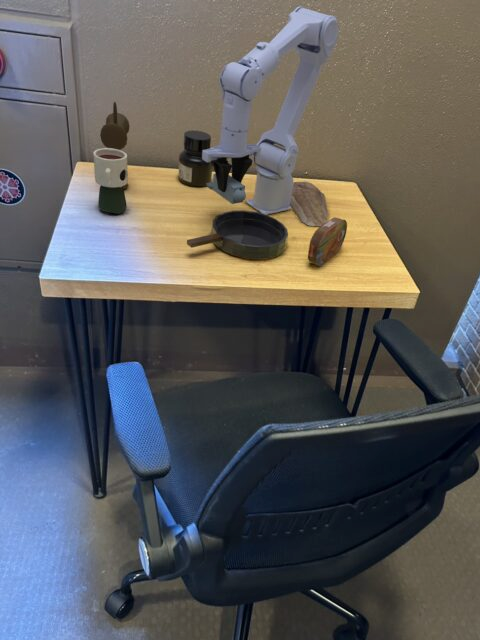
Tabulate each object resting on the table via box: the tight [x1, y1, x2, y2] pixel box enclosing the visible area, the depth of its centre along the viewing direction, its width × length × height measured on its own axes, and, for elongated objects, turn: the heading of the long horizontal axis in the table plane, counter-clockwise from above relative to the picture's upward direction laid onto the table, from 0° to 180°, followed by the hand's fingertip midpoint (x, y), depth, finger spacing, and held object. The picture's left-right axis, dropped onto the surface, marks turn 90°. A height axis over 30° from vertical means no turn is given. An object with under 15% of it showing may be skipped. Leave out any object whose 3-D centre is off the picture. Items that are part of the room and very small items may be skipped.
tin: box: [307, 216, 348, 267], centre depth 119 cm, size 15×3×8 cm, turn 148°
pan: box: [211, 209, 289, 260], centre depth 120 cm, size 17×17×4 cm
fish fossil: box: [290, 181, 328, 227], centre depth 142 cm, size 26×10×1 cm, turn 12°
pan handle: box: [186, 233, 222, 249], centre depth 113 cm, size 8×2×1 cm, turn 129°
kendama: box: [99, 101, 131, 190], centre depth 126 cm, size 6×10×20 cm, turn 6°
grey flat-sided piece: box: [205, 173, 247, 205], centre depth 121 cm, size 12×4×4 cm, turn 39°
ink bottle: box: [178, 130, 214, 187], centre depth 139 cm, size 10×9×12 cm
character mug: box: [92, 147, 129, 214], centre depth 118 cm, size 11×7×13 cm, turn 5°
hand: (228, 189), depth 121 cm, fingers closed on grey flat-sided piece, 3 cm apart
